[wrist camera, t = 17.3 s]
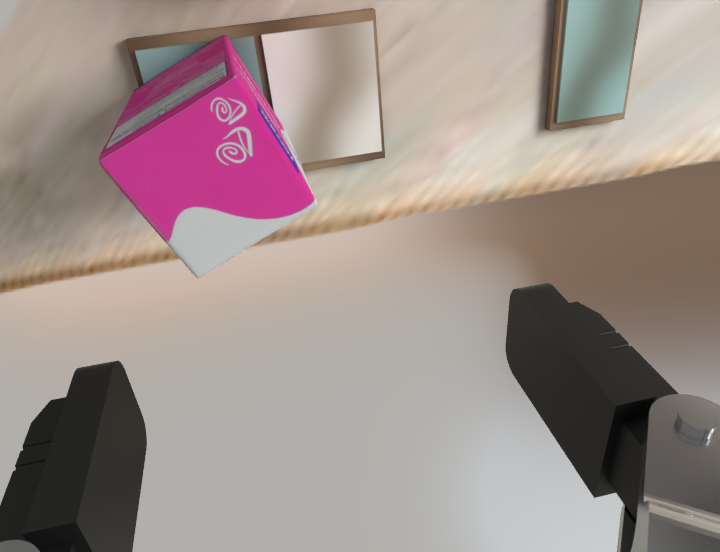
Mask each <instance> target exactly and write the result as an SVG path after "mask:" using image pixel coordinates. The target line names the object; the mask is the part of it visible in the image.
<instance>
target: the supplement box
mask: <svg viewBox="0 0 720 552" xmlns="http://www.w3.org/2000/svg"><path fill="white" fill-rule="evenodd" d="M98 161H99V163H100V165H101V166H102V168H103V169H104V170H105V172H106V173H107V174H108V175H109V176H110V178H111V179H112V180H113V181H114V182H115V183H116V185H117V186H118V187H119V188H120V190H121V191H122V192H123V193H124V194H125V195H126V197H127V198H128V199H129V200H130V201H131V202H132V204H133V205H134V206H135V207H136V209H137V210H138V211H139V212H140V213H141V214H142V215H143V217H144V218H145V219H146V220H147V221H148V223H149V224H150V225H151V226H152V227H153V228H154V229H155V231H156V232H157V233H158V234H159V235H160V236H161V238H162V239H163V240H164V241H165V242H166V243H167V244H168V246H169V247H170V248H171V249H172V250H173V251H174V252H175V254H176V255H177V256H178V257H179V258H180V259H181V260H182V261H183V263H184V264H185V265H186V266H187V267H188V269H189V270H190V271H191V272H192V273H193V274H194V275H195V276H196V277H197V278H200V277H202V276H203V275H205V274H206V273H208V272H210V271H211V270H213V269H214V268H216V267H218V266H219V265H221V264H222V263H224V262H226V261H227V260H229V259H231V258H232V257H234V256H235V255H237V254H239V253H240V252H241V251H243V250H245V249H247V248H248V247H250V246H252V245H253V244H255V243H256V242H258V241H260V240H261V239H263V238H264V237H266V236H268V235H269V234H271V233H273V232H274V231H276V230H278V229H279V228H281V227H283V226H285V225H286V224H288V223H290V222H291V221H293V220H295V219H296V218H298V217H300V216H301V215H303V214H305V213H306V212H308V211H310V210H311V209H313V208H315V207H316V206H317V201H316V199H315V196H314V194H313V192H312V190H311V187H310V185H309V183H308V180H307V178H306V175H305V173H304V171H303V168H302V166H301V163H300V161H299V159H298V157H297V154H296V152H295V150H294V147H293V145H292V143H291V140H290V138H289V136H288V133H287V131H286V129H285V127H284V126H283V125H282V123H281V122H280V120H279V119H278V117H277V116H276V114H275V113H274V111H273V110H272V108H271V106H270V105H269V103H268V102H267V100H266V98H265V97H264V95H263V94H262V92H261V90H260V89H259V87H258V86H257V84H256V83H255V81H254V79H253V78H252V76H251V75H250V73H249V71H248V70H247V68H246V67H245V65H244V63H243V62H242V60H241V59H240V57H239V55H238V54H237V52H236V50H235V48H234V46H233V45H232V43H231V41H230V39H229V38H228V36H227V35H222V36H221V37H219V38H217V39H216V40H214V41H213V42H211V43H209V44H208V45H206V46H204V47H203V48H201V49H200V50H198V51H196V52H195V53H193V54H191V55H190V56H188V57H186V58H185V59H183V60H182V61H180V62H178V63H177V64H175V65H173V66H172V67H170V68H169V69H167V70H165V71H164V72H162V73H161V74H159V75H157V76H156V77H154V78H153V79H151V80H150V81H148V82H146V83H145V84H143V85H142V86H140V87H139V88H137V89H136V90H134V92H133V94H132V96H131V98H130V100H129V102H128V104H127V106H126V107H125V109H124V111H123V113H122V115H121V117H120V119H119V121H118V123H117V125H116V126H115V128H114V130H113V132H112V134H111V136H110V138H109V140H108V142H107V144H106V145H105V147H104V149H103V151H102V152H101V154H100V156H99V159H98Z"/></svg>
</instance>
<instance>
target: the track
mask: <svg viewBox="0 0 720 552" xmlns="http://www.w3.org/2000/svg"><path fill="white" fill-rule="evenodd" d="M642 1H643V0H556V8H555V20H554V31H553V43H552V55H551V67H550V79H549V90H548V102H547V114H546V126H545V128H546V129H548V130H549V131H553V130H559V129H565V128H571V127H577V126H584V125H590V124H596V123H602V122H608V121H615V120H621V119H624V115H625V109H626V103H627V96H628V90H629V84H630V77H631V71H632V64H633V58H634V52H635V45H636V39H637V33H638V26H639V20H640V14H641V7H642ZM222 35H227V36H228V38H229V39H230V41H231V43H232V45H233V46H234V48H235V50H236V52H237V54H238V55H239V57H240V59H241V60H242V62H243V63H244V65H245V67H246V68H247V70H248V71H249V73H250V75H251V76H252V78H253V79H254V81H255V83H256V84H257V86H258V87H259V89H260V90H261V92H262V94H263V95H264V97H265V98H266V100H267V102H268V103H269V105H270V106H271V108H272V110H273V111H274V113H275V114H276V116H277V117H278V119H279V120H280V122H281V123H282V125H283V126H284V127H285V129H286V131H287V133H288V136H289V138H290V140H291V143H292V145H293V147H294V150H295V152H296V154H297V157H298V159H299V161H300V163H301V166H302V168H303V171H305V170H312V169H318V168H324V167H330V166H336V165H342V164H349V163H355V162H361V161H367V160H373V159H380V158H385V150H384V135H383V120H382V105H381V90H380V75H379V60H378V45H377V30H376V15H375V9H373V8H371V9H363V10H355V11H347V12H339V13H331V14H323V15H314V16H306V17H298V18H290V19H282V20H274V21H266V22H258V23H250V24H242V25H234V26H226V27H218V28H210V29H202V30H194V31H185V32H177V33H169V34H161V35H153V36H145V37H137V38H129V39H127V40H126V43H127V46H128V50H129V53H130V57H131V60H132V64H133V67H134V71H135V74H136V78H137V81H138V85H139V87H140V86H142V85H143V84H145V83H146V82H148V81H150V80H151V79H153V78H154V77H156V76H157V75H159V74H161V73H162V72H164V71H165V70H167V69H169V68H170V67H172V66H173V65H175V64H177V63H178V62H180V61H182V60H183V59H185V58H186V57H188V56H190V55H191V54H193V53H195V52H196V51H198V50H200V49H201V48H203V47H204V46H206V45H208V44H209V43H211V42H213V41H214V40H216V39H217V38H219V37H221V36H222Z"/></svg>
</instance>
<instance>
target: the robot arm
mask: <svg viewBox="0 0 720 552" xmlns="http://www.w3.org/2000/svg"><path fill="white" fill-rule="evenodd" d="M506 355H507V360H508V363H509V367H510V369H511V371H512V373H513V375H514V376H515V378H516V379H517V381H518V383H519V384H520V386H521V387H522V389H523V390H524V392H525V393H526V395H527V396H528V398H529V399H530V401H531V402H532V404H533V405H534V407H535V408H536V410H537V411H538V413H539V415H540V416H541V418H542V419H543V421H544V422H545V424H546V425H547V427H548V428H549V430H550V431H551V433H552V434H553V436H554V437H555V439H556V440H557V442H558V443H559V445H560V446H561V448H562V449H563V451H564V452H565V454H566V455H567V457H568V459H569V460H570V461H571V463H572V465H573V466H574V468H575V469H576V471H577V472H578V474H579V475H580V477H581V478H582V480H583V481H584V483H585V484H586V486H587V487H588V489H589V490H590V492H591V493H592V495H593V496H594V498H595V497H599V496H603V495H608V494H611V493H617V494H618V496H619V497H620V499H621V500H622V501H623V507H622V511H621V517H620V527H619V537H618V547H617V552H720V406H719V405H717V404H716V403H713V402H711V401H709V400H706V399H704V398H701V397H697V396H692V395H686V394H678V393H677V392H676V391H675V390H674V389H673V388H672V387H671V386H670V385H669V384H668V383H667V382H666V381H665V380H664V379H663V378H662V377H661V375H659V373H658V372H656V370H655V369H654V368H653V367H652V366H651V365H650V364H649V363H648V362H647V361H646V360H645V359H644V358H643V357H642V356H641V355H640V354H639V353H638V352H637V351H636V350H635V349H634V348H633V347H632V346H630V347H629V345H628V342H627V341H626V340H625V339H624V338H623V337H622V336H621V335H620V334H619V333H616V332H615V329H614V328H613V327H612V326H611V325H610V324H609V323H608V322H607V321H606V320H605V319H604V318H603V317H602V316H601V315H600V314H599V313H597V312H595V311H594V310H592V309H590V308H588V307H586V306H584V305H582V304H580V303H579V302H572V303H568V302H567V300H566V299H565V298H564V297H563V296H562V295H561V294H560V293H559V292H558V291H557V290H556V289H555V287H554V286H552V285H551V284H549V283H545V284H540V285H534V286H529V287H524V288H518V289H514V290H513V291H512V293H511V295H510V303H509V314H508V325H507V337H506ZM146 445H147V440H146V429H145V423H144V419H143V416H142V413H141V411H140V408H139V405H138V403H137V400H136V398H135V395H134V392H133V390H132V387H131V385H130V382H129V380H128V377H127V374H126V372H125V369H124V367H123V365H122V364H121V362H119V361H114V362H109V363H103V364H98V365H92V366H87V367H82V368H78V369H76V371H75V373H74V375H73V378H72V381H71V384H70V387H69V390H68V393H67V396H66V398H60V399H55V400H51V401H50V402H49V403H48V404H47V405H46V407H45V408H44V409H43V410H42V411H41V412H40V413H39V415H38V416H37V417H36V418H35V419H34V420H33V422H32V423H31V425H30V428H29V431H28V433H27V436H26V438H25V441H24V444H23V451H21V452H20V454H19V457H18V460H17V462H16V465H15V467H16V470H15V471H13V473H12V476H11V478H10V481H9V484H8V486H7V489H6V492H5V494H4V497H3V500H2V502H1V505H0V552H132V549H133V541H134V534H135V527H136V520H137V512H138V505H139V497H140V490H141V484H142V476H143V469H144V462H145V455H146Z"/></svg>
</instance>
